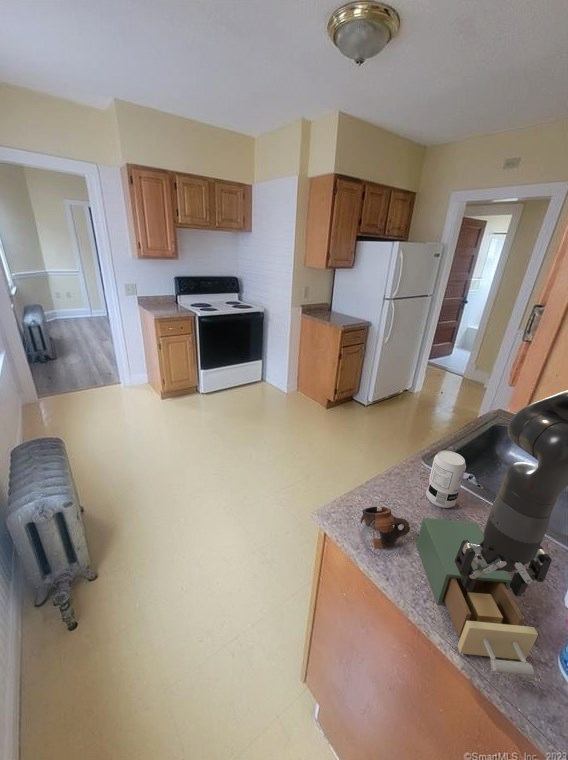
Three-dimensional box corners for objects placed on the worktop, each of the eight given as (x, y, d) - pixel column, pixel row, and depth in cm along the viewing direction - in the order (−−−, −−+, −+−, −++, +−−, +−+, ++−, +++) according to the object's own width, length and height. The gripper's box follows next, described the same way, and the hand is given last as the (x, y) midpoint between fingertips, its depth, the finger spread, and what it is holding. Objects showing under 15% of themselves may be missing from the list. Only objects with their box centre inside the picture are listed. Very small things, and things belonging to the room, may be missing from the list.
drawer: (542, 692, 53) (557, 666, 51) (471, 684, 54) (482, 658, 51) (487, 587, 70) (496, 563, 67) (433, 582, 71) (440, 558, 68)
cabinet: (499, 610, 66) (512, 580, 63) (437, 604, 67) (446, 574, 64) (467, 550, 80) (476, 522, 76) (416, 545, 81) (422, 518, 77)
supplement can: (422, 488, 100) (431, 448, 95) (450, 491, 99) (461, 450, 94) (429, 507, 93) (440, 464, 87) (459, 511, 92) (472, 467, 86)
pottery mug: (362, 550, 80) (358, 515, 81) (364, 536, 89) (360, 505, 90) (413, 550, 76) (408, 514, 77) (410, 536, 85) (405, 504, 86)
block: (484, 608, 65) (490, 594, 63) (496, 632, 61) (503, 617, 59) (462, 606, 65) (467, 592, 63) (472, 630, 61) (478, 615, 59)
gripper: (483, 538, 50) (459, 606, 56) (578, 545, 49) (544, 614, 55) (462, 503, 57) (443, 567, 63) (545, 509, 56) (518, 574, 62)
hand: (490, 589), depth 59 cm, fingers open, 8 cm apart
